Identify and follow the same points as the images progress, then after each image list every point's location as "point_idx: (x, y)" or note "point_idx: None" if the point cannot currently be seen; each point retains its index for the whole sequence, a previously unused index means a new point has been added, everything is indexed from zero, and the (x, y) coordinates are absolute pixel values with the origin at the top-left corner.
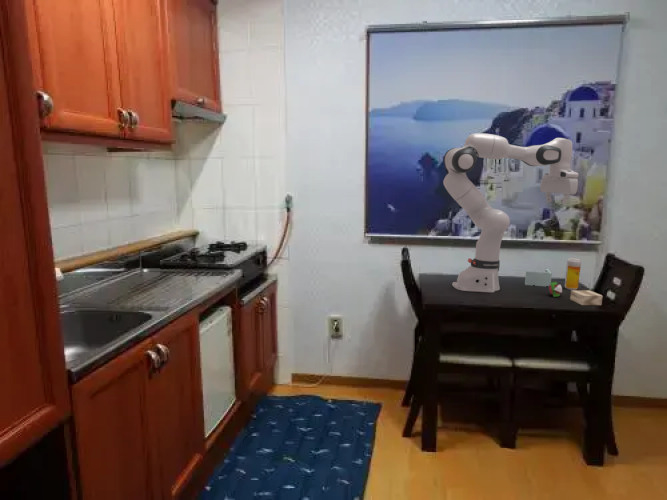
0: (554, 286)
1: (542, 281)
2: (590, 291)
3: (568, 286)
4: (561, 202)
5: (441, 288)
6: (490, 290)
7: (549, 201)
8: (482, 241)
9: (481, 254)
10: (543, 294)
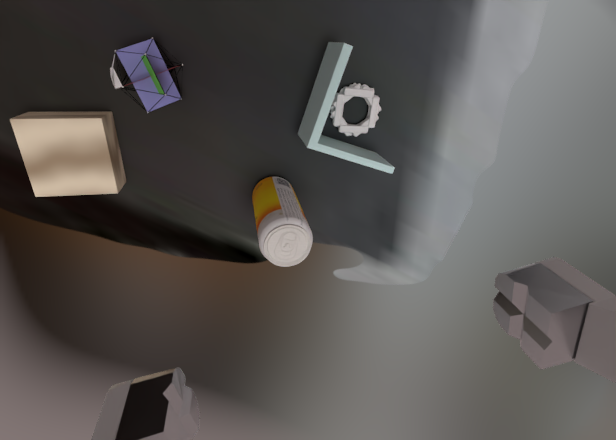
0: (152, 75)
1: (310, 108)
2: (99, 186)
3: (261, 182)
4: (160, 380)
5: None
6: None
7: (504, 288)
8: None
9: None
10: (173, 37)
